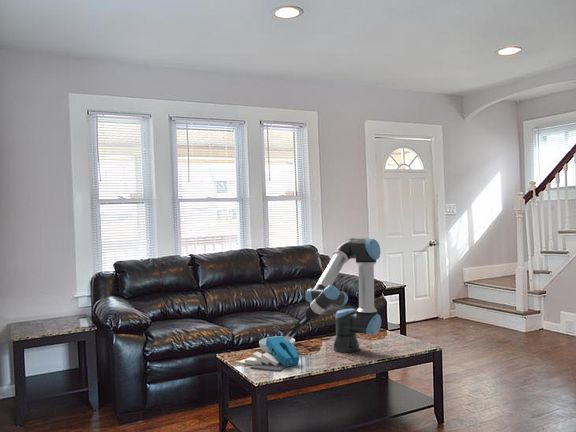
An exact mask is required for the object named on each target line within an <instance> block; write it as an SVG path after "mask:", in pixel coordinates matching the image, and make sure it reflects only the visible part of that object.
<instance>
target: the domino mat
mask: <svg viewBox="0 0 576 432" xmlns="http://www.w3.org/2000/svg"><path fill="white" fill-rule="evenodd" d="M287 367H288V366H284V365H283V364H279V365H277V366H275V365H273V364H272V363H270V364H268V365H267V364H265V363H263V364H254V365H250V367H249V368H250V370H251V369H252V370H262V371H270V372H281V371H282V372H283V370H285V368H287Z"/></svg>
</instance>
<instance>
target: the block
mask: <svg viewBox="0 0 576 432" xmlns="http://www.w3.org/2000/svg"><path fill="white" fill-rule="evenodd" d="M280 336H281V337H275V336H269V338H268V337H266V338H267V341H266V346H267V347H268V348H269V350H270V351H271V353H272V354H271V355H272V356H274V357H275V358H276V359H277V360H278V361H279V362H280V363H281V364H283V365H284V366H287V367H291V366H298V365H299V363H300V359H301V358H300V355H299V353H298V350H297V349H296V347H295V345H294V346H293V345H292V344H291V343H290V341H288V342H287V341H286V340H285V339H284V338H285V336H286V335H283V336H282V335H280Z"/></svg>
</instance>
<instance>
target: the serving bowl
mask: <svg viewBox="0 0 576 432" xmlns="http://www.w3.org/2000/svg"><path fill="white" fill-rule="evenodd" d="M281 336H282V335H279V336H278V335H277V336H275V335H274V337H281ZM269 337H270V336H269ZM269 337H264V338H261V339H260V340H259V342H258V346H259V347H260V349H261V350H262V351H263V352H264V353H266V352H267V353H269V354H271V355H273V354H272V353H271V351H270V350H269V348H268V347H267V346H266V341H267V338H269ZM289 341H290V343H291V344H292V345H293V346H294V347H295V343H296V339H295V338H294V337H292V338H291V339H290V340H289Z"/></svg>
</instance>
